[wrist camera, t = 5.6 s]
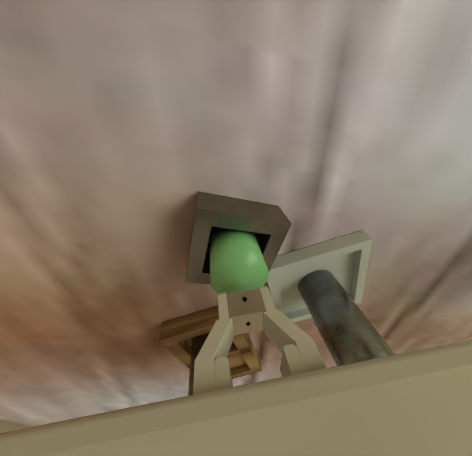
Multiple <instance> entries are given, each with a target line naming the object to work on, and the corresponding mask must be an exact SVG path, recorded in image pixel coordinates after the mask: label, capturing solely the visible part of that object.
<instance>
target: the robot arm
mask: <svg viewBox="0 0 472 456" xmlns="http://www.w3.org/2000/svg"><path fill="white" fill-rule="evenodd" d="M218 311H219V320H216V322H215V324H214V326H213V327H212V329H211V331H210V333H209V335H208V337H207V339H206V341H205V342H204V344H203V346H202V348H201V350H200V352H199V354H198V355H197V357H196V359H195V363H194V383H193V395H190V396H185V397H180V398H175V399H170V400H165V401H160V402H155V403H150V404H145V405H140V406H135V407H130V408H125V409H120V410H114V411H109V412H104V413H99V414H94V415H89V416H84V417H79V418H74V419H69V420H64V421H59V422H54V423H49V424H44V425H39V426H34V427H29V428H24V429H19V430H14V431H9V432H4V433H0V456H472V340H467V341H462V342H457V343H452V344H447V345H442V346H437V347H431V348H426V349H421V350H416V351H411V352H406V353H401V354H396V355H391V356H386V357H381V358H376V359H371V360H366V361H361V362H356V363H351V364H346V365H341V366H336V367H331V368H326V366H325V364H324V361H323V359H322V357H321V355H320V353H319V351H318V349H317V346H316V344H315V342H314V340H313V339H312V338H311V337H310V336H309V335H307V334H306V333H305V332H304V331H303V330H302V329H300V328H299V327H298V326H297V325H296V324H295V323H293V322H292V321H291V320H290V319H289V318H288V317H286V316H285V315H284V314H283V313H282V312H281V311H279V310H276V309H275V306H274V303H273V300H272V298H271V295H270V292H269V289H268V287H267V286H261V287H254V288H248V289H242V290H237V291H230V292H223V293H218ZM256 331H263V332H264V333H265V334H266V335H267V336H268V337H269V339H270V340H271V341H272V342H273V343H274V344H275V346H276V347H277V348H278V349H279V350H280V351H281V353H282V360H281V366H280V371H281V374H282V377H280V378H275V379H270V380H265V381H260V382H255V383H250V384H245V385H240V386H235V387H233V383H232V376H231V371H230V365H229V360H228V358H227V355H228V353H229V350H230V347H231V344H232V342H233V339H234V335H239V334H244V333H249V332H256Z"/></svg>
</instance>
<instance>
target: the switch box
mask: <svg viewBox="0 0 472 456" xmlns="http://www.w3.org/2000/svg"><path fill="white" fill-rule="evenodd" d="M211 226H212V227H220V228H227V229H234V230H241V231H249V232H256V233H255V237H256V240H257V243H258V245H259V248H260V250H261V253H262V255H263V258H264V261H265V263H266V266H267V268H268V272H269V271H270V269H271V267H272V265H273V263H274V260H275V258H276V256H277V254H278V252H279V249H280V247H281V245H282V243H283V241H284V239H285V236H286V234H287V232H288V230H289V228H290V226H291V222H290V221H289V220H288V218H287V217H286V216H285V214H284V213H283V212H282V210H281V209H280V208H279V206H275V205H270V204H264V203H259V202H253V201H248V200H242V199H237V198H231V197H225V196H220V195H214V194H209V193H203V192H198V196H197V203H196V209H195V216H194V223H193V229H192V236H191V243H190V250H189V256H188V264H187V272H186V280H185V282H191V283H207V284H211V282H210V251H207V245H208V241H209V236H210V231H211Z"/></svg>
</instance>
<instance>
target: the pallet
mask: <svg viewBox="0 0 472 456" xmlns="http://www.w3.org/2000/svg"><path fill="white" fill-rule="evenodd" d="M216 320H219V311H218V306H216V307H212V308H209V309H206V310H202V311H199V312H196V313H192V314H189V315H186V316H182V317H179V318H176V319H172V320H169V321H166V322H163V324H162V329H161V334H160V339H159V341H160V342H161V343H162V344H163V345H164V346H165V347H166V348H168V349H169V350H170V351H171V352H172V353H173V354H174V355H175V356H176V357H177V358H179V359H180V360H181V361H182V362H183V363H184V364H185V365H186V366H187V367H189V368H190V359H191V343H192V337H195V336H199V335H202V334H205V333H209V332H210V331H211V329H212V327H213V326H214V324H215V322H216ZM228 360H229V365H230V371H231V376H232V379H234V378H237V377H241V376H244V375H248V374H251V373H255V372H258V371H262V370H261V365H260V360H259V356H258V353H257V351H256V349H255V347H254V345H253V343H252V341H251V339H250V337H249V335H248V333H244V334H239V335H234V339H233V342H232V344H231V347H230V350H229V353H228Z"/></svg>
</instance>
